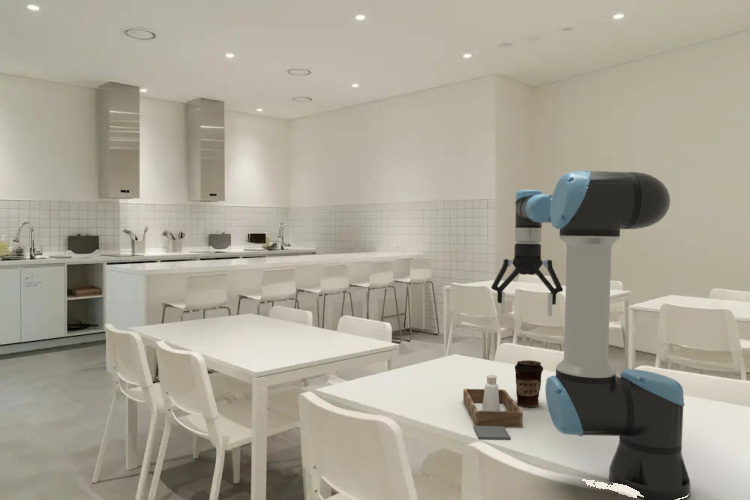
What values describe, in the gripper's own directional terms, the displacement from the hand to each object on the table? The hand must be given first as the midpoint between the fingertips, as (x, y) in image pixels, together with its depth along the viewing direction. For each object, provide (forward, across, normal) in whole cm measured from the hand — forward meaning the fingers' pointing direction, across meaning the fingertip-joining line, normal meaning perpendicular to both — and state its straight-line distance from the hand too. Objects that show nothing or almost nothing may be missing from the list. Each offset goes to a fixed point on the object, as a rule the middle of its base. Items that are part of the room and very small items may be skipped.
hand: (525, 315), depth 165 cm
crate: (+28, +10, +7) cm, 30 cm away
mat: (+28, +12, +23) cm, 38 cm away
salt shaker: (+28, +10, +7) cm, 31 cm away
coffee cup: (+28, -2, -4) cm, 28 cm away
